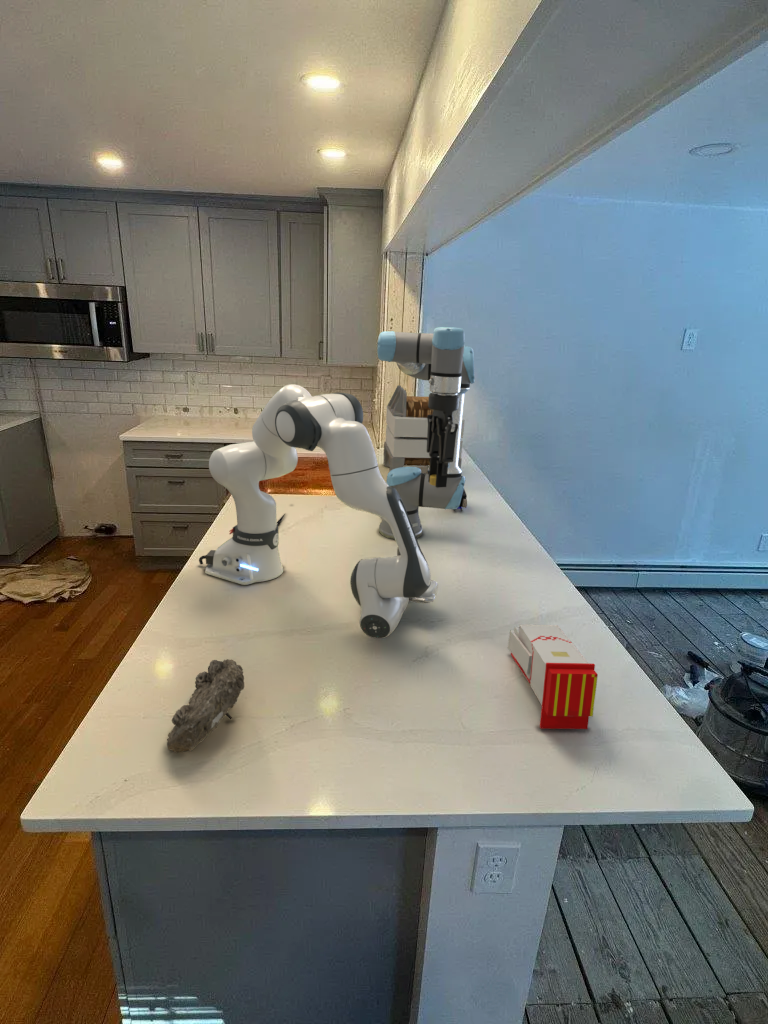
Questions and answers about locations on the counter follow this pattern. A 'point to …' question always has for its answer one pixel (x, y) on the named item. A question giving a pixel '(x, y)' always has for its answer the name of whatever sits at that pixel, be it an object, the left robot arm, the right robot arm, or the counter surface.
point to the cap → (433, 480)
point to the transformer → (408, 431)
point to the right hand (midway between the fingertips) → (437, 484)
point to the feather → (280, 520)
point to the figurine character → (463, 501)
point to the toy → (555, 675)
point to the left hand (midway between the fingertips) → (405, 573)
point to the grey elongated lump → (206, 705)
